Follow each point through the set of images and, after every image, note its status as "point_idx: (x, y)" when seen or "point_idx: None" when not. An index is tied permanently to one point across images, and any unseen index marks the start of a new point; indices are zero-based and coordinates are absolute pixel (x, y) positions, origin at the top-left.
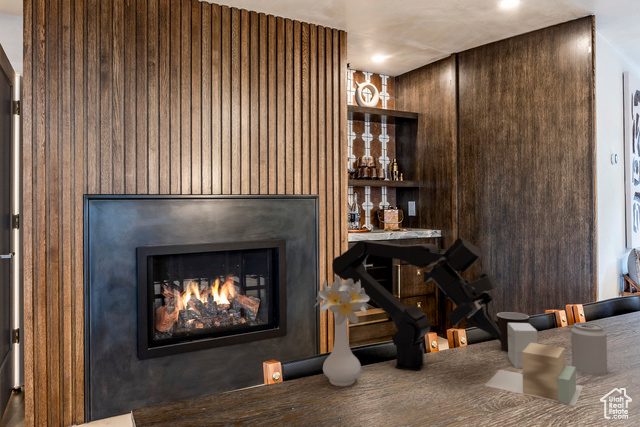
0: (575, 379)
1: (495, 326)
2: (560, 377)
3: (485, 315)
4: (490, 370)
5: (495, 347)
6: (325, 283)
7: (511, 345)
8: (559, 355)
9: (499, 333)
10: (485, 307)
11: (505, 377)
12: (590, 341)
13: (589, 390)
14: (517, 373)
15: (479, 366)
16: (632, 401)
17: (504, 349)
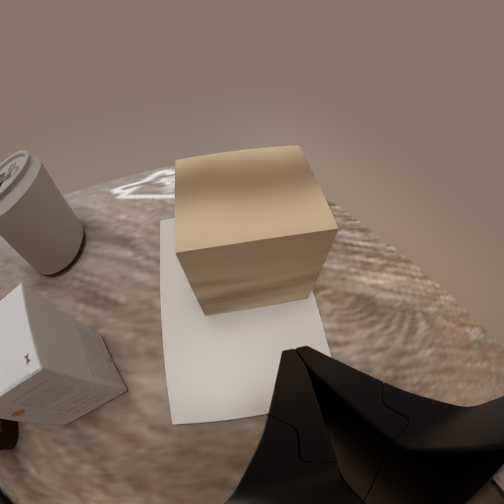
0: None
1: (308, 377)
2: None
3: (444, 415)
4: (169, 454)
5: (10, 463)
6: None
7: (57, 404)
8: (273, 147)
9: (308, 347)
10: (493, 433)
11: (229, 385)
12: (46, 179)
13: (155, 220)
14: (169, 368)
15: (161, 489)
16: (170, 168)
17: (14, 440)
